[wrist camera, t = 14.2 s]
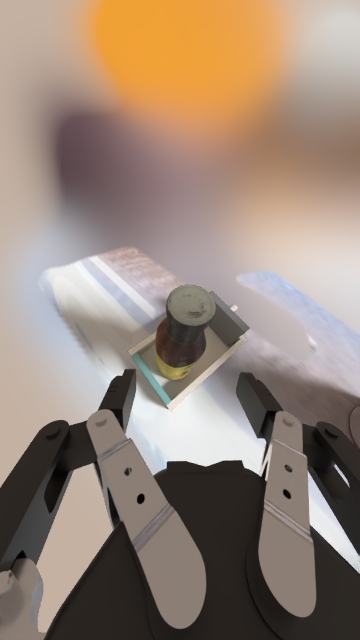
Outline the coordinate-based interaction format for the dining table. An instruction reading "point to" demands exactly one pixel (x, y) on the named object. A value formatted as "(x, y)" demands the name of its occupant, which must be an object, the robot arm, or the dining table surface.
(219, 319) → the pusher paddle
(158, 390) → the pusher lane
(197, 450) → the dining table surface
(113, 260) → the dining table surface
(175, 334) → the sauce bottle
